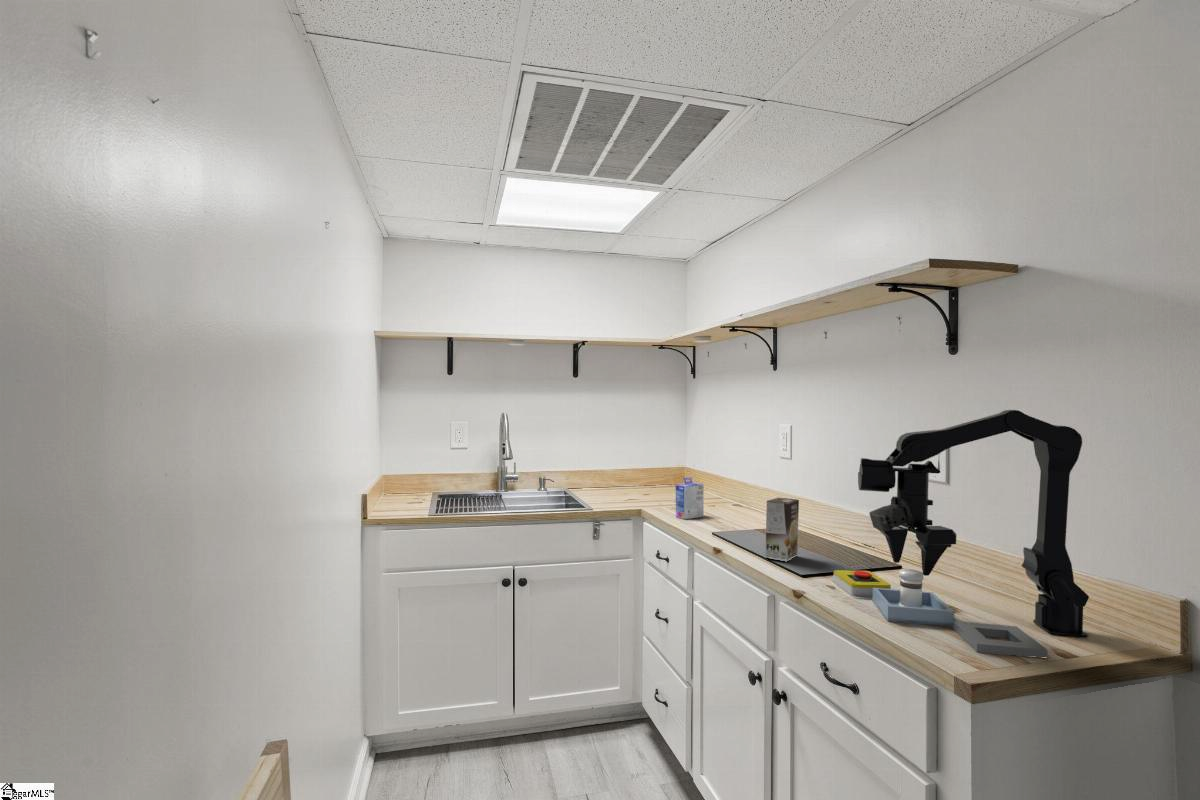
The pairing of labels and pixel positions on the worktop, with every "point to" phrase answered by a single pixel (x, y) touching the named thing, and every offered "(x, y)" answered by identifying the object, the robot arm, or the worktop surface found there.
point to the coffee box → (782, 528)
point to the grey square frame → (1016, 645)
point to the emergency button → (858, 583)
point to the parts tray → (913, 608)
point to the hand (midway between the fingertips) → (910, 568)
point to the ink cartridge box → (689, 500)
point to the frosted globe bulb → (910, 588)
